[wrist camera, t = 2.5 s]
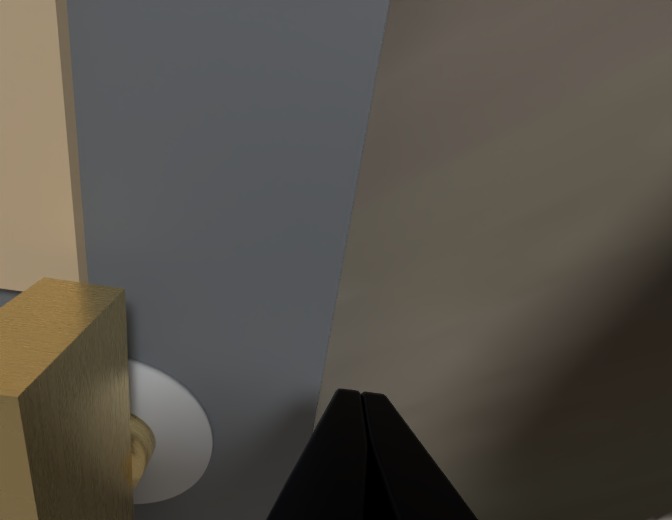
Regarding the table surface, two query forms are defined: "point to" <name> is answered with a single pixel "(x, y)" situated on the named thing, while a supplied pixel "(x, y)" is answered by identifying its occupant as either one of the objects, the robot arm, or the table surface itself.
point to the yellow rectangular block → (68, 406)
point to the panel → (194, 211)
